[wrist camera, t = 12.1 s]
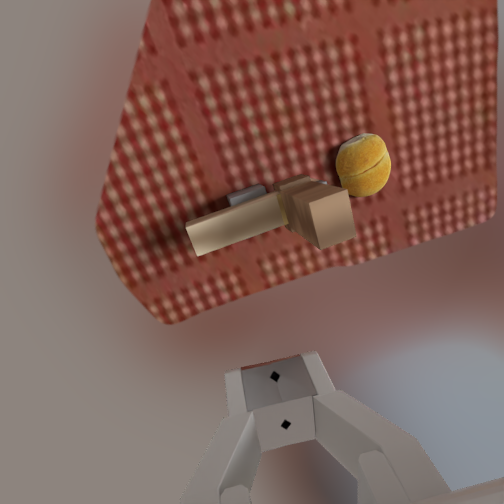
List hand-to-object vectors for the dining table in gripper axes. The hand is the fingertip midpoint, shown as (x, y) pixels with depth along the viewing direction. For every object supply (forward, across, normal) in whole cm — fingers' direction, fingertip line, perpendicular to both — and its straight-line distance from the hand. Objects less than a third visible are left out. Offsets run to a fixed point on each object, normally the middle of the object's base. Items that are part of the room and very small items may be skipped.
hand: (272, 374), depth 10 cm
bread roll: (+38, -22, +2) cm, 44 cm away
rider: (+32, -9, +4) cm, 34 cm away
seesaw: (+36, -4, +6) cm, 37 cm away
